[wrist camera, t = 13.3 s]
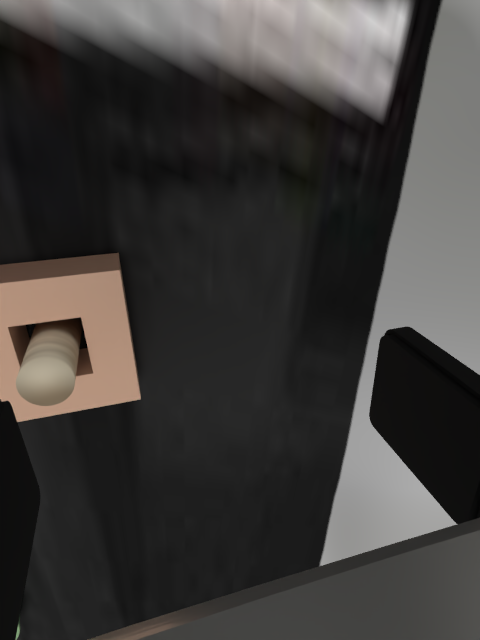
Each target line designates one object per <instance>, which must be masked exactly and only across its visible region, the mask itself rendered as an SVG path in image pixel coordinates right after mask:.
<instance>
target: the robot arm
mask: <svg viewBox="0 0 480 640" xmlns="http://www.w3.org/2000/svg"><path fill="white" fill-rule="evenodd" d="M369 416H370V421H371V423H372V425H373V427H374V428H375V429H376V430H377V431H378V433H379V434H380V435H381V436H382V437H383V439H384V440H385V441H386V442H387V443H388V444H389V446H390V447H391V448H392V449H393V450H394V451H395V453H396V454H397V455H398V456H399V457H400V458H401V459H402V461H403V462H404V463H405V464H406V465H407V467H408V468H409V469H410V470H411V471H412V472H413V474H414V475H415V476H416V477H417V478H418V480H419V481H420V482H421V483H422V484H423V485H424V487H425V488H426V489H427V490H428V491H429V492H430V494H431V495H432V496H433V497H434V498H435V499H436V500H437V502H438V503H439V504H440V505H441V506H442V508H443V509H444V510H445V511H446V512H447V513H448V514H449V516H450V517H451V518H452V519H453V520H454V521H455V522H456V523H457V524H458V525H454V526H451V527H448V528H444V529H441V530H438V531H434V532H431V533H428V534H424V535H421V536H418V537H414V538H411V539H408V540H404V541H402V542H398V543H395V544H391V545H388V546H385V547H381V548H378V549H375V550H372V551H369V552H365V553H362V554H359V555H355V556H352V557H349V558H346V559H342V560H339V561H336V562H333V563H329V564H326V565H323V566H320V567H316V568H313V569H310V570H307V571H303V572H300V573H297V574H294V575H290V576H287V577H284V578H281V579H278V580H274V581H271V582H268V583H265V584H261V585H258V586H255V587H252V588H249V589H245V590H242V591H239V592H236V593H233V594H229V595H226V596H223V597H220V598H217V599H214V600H210V601H207V602H204V603H201V604H198V605H194V606H191V607H188V608H185V609H182V610H179V611H175V612H172V613H169V614H166V615H163V616H160V617H156V618H153V619H150V620H147V621H144V622H140V623H137V624H134V625H131V626H128V627H125V628H122V629H119V630H115V631H112V632H109V633H106V634H103V635H100V636H97V637H94V638H91V639H88V640H480V375H478V374H477V373H475V372H474V371H473V370H471V369H470V368H468V367H467V366H466V365H464V364H463V363H461V362H460V361H458V360H457V359H455V358H454V357H453V356H451V355H450V354H448V353H447V352H445V351H444V350H443V349H441V348H440V347H438V346H437V345H435V344H434V343H432V342H431V341H430V340H428V339H426V338H425V337H424V336H422V335H421V334H420V333H418V332H416V331H415V330H414V329H412V328H410V327H402V328H396V329H390V330H388V331H386V333H385V335H384V336H383V337H382V338H381V339H380V344H379V350H378V357H377V365H376V371H375V378H374V385H373V392H372V400H371V406H370V413H369ZM39 506H40V490H39V485H38V482H37V479H36V476H35V473H34V471H33V468H32V465H31V462H30V459H29V456H28V453H27V450H26V447H25V444H24V441H23V438H22V435H21V432H20V429H19V426H18V423H17V420H16V417H15V414H14V411H13V408H12V405H11V403H10V402H9V401H3V402H2V401H1V399H0V640H15V639H16V634H17V628H18V622H19V617H20V611H21V606H22V600H23V595H24V589H25V583H26V578H27V572H28V567H29V561H30V556H31V550H32V545H33V539H34V533H35V528H36V522H37V517H38V511H39Z"/></svg>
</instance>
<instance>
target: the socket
mask: <svg viewBox="0 0 480 640" xmlns="http://www.w3.org/2000/svg"><path fill="white" fill-rule="evenodd" d="M79 317H81V319H82V324H83V329H84V333H85V338H86V342H87V347H88V348H84V349H79V356H78V363H77V371H76V379H75V386H74V390H73V392H72V394H71V395H70V396H69V397H68V398H67V399H66V400H65V401H63V402H61V403H59V404H56V405H52V406H39V405H35V404H32V403H30V402H28V401H26V400H25V399H24V398H22V397H21V395H20V394H19V393H18V391H17V388H16V379H17V376H18V373H19V370H20V367H21V364H22V362H23V359H24V356H25V353H26V350H27V348H28V345H29V342H30V339H29V335H28V332H27V328H26V325H27V324H35V323H42V322H49V321H57V320H64V319H72V318H79ZM0 399H1V401H2V402H3V401H9V402H10V403H11V405H12V408H13V411H14V414H15V417H16V420H17V422H20V421H26V420H31V419H36V418H42V417H47V416H53V415H58V414H63V413H69V412H74V411H80V410H85V409H91V408H96V407H101V406H107V405H112V404H118V403H123V402H128V401H134V400H139V399H141V396H140V388H139V379H138V370H137V364H136V358H135V352H134V345H133V339H132V333H131V327H130V321H129V314H128V308H127V302H126V296H125V289H124V283H123V277H122V271H121V264H120V258H119V253H112V254H102V255H92V256H82V257H73V258H63V259H53V260H43V261H33V262H24V263H14V264H4V265H0Z"/></svg>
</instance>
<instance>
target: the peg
mask: <svg viewBox="0 0 480 640" xmlns="http://www.w3.org/2000/svg"><path fill="white" fill-rule="evenodd" d="M81 332H82V322H81V319H80V317H79V318H72V319H64V320H57V321H49V322H42V323H36V325H35V328H34V331H33V334H32V336H31V339H30V342H29V345H28V348H27V350H26V353H25V356H24V359H23V362H22V364H21V367H20V370H19V373H18V376H17V379H16V388H17V391H18V393H19V394H20V395H21V397H22V398H24V399H25V400H26V401H28V402H30V403H32V404H35V405H39V406H52V405H56V404H59V403H61V402H63V401H65V400H66V399H67V398H68V397H69V396H70V395H71V394H72V392H73V390H74V386H75V379H76V371H77V363H78V356H79V348H80V340H81Z"/></svg>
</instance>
